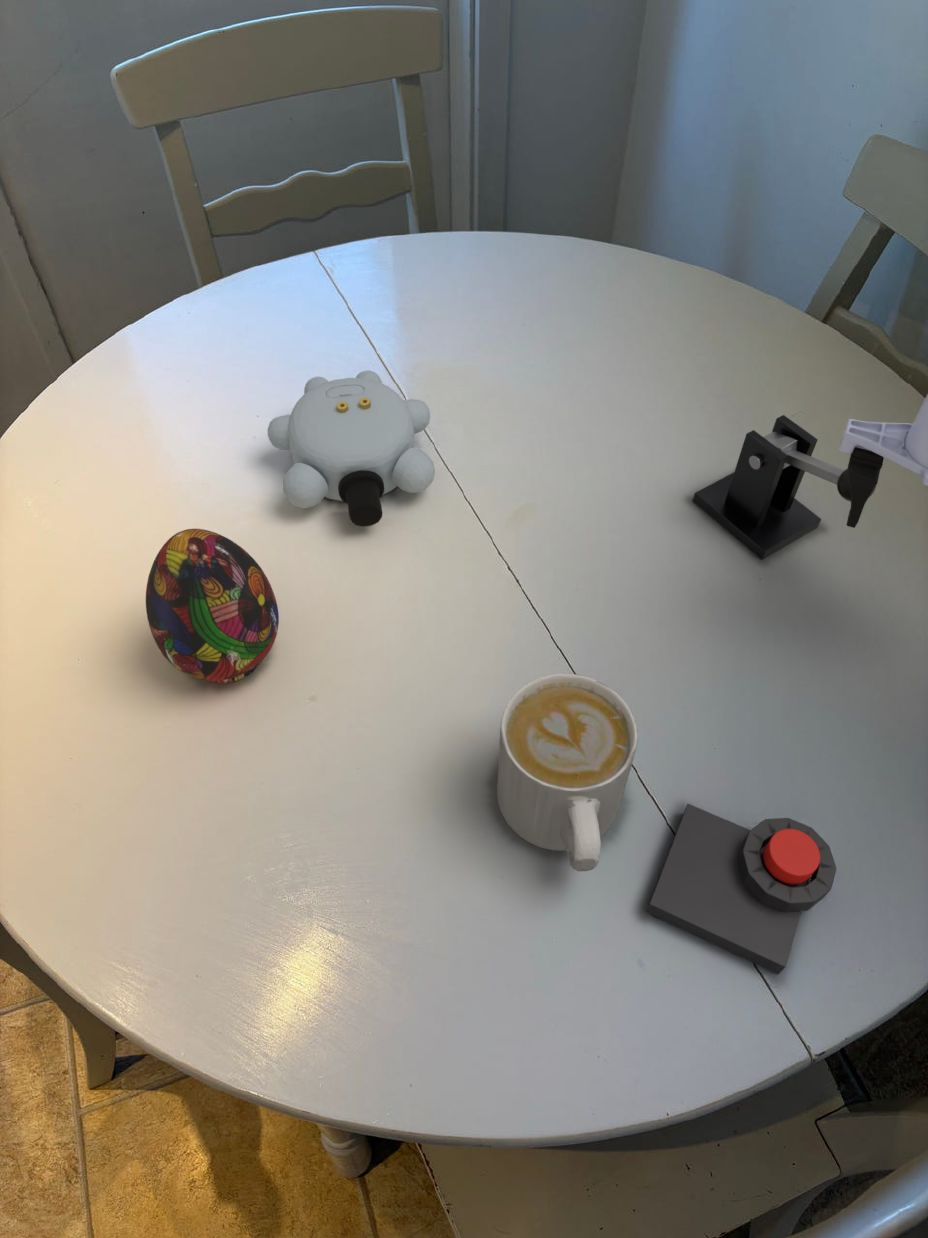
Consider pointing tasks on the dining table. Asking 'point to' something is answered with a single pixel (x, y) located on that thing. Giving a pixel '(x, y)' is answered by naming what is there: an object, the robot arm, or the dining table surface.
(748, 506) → the bracket
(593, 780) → the coffee mug
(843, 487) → the lever
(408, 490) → the figurine
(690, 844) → the button block
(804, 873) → the button
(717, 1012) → the dining table surface
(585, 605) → the dining table surface
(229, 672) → the egg
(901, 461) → the robot arm
